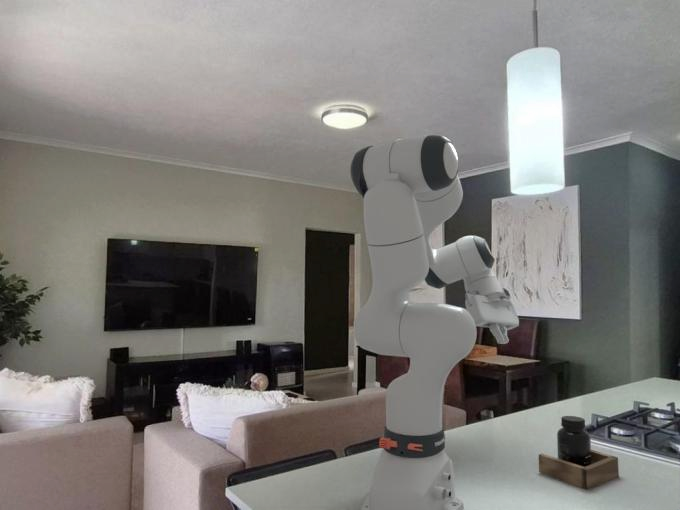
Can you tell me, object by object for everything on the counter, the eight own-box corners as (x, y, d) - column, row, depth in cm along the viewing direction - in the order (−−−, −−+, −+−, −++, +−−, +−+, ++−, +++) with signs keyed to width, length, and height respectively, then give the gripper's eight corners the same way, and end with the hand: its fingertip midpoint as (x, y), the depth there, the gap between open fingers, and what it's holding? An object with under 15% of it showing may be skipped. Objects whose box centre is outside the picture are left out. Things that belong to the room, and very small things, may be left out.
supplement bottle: (596, 480, 106) (593, 423, 106) (562, 477, 107) (560, 422, 108) (586, 467, 112) (584, 414, 113) (555, 466, 114) (553, 413, 114)
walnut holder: (539, 472, 110) (538, 454, 110) (570, 460, 117) (569, 443, 117) (587, 490, 101) (587, 470, 101) (618, 475, 108) (617, 457, 108)
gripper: (474, 283, 121) (494, 336, 115) (512, 292, 135) (532, 340, 129) (453, 294, 125) (471, 346, 119) (493, 302, 139) (511, 348, 133)
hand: (503, 343), depth 124 cm, fingers closed
